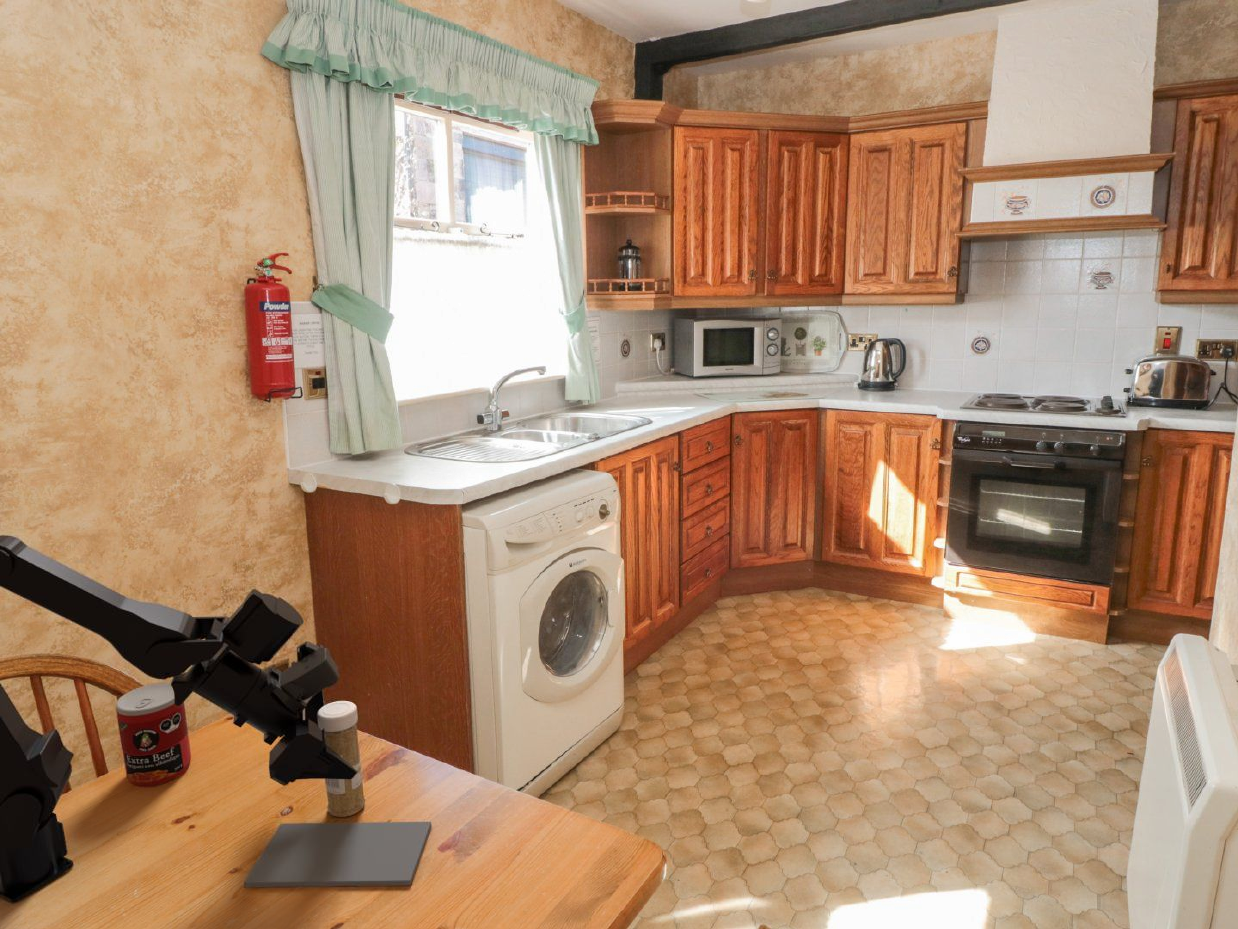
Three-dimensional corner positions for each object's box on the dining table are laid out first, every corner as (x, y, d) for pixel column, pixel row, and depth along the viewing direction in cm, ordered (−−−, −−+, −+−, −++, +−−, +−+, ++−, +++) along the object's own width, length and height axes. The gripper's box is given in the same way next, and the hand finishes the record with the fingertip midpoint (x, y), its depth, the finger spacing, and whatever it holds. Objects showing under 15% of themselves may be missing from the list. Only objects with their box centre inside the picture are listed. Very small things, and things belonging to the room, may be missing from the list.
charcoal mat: (244, 887, 89) (243, 882, 89) (281, 828, 99) (280, 823, 99) (410, 885, 89) (410, 880, 89) (431, 826, 99) (431, 821, 99)
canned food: (119, 793, 107) (106, 715, 104) (136, 760, 114) (125, 686, 112) (184, 782, 108) (173, 706, 106) (197, 751, 116) (187, 678, 114)
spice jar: (372, 807, 103) (363, 708, 100) (337, 824, 100) (327, 722, 97) (354, 792, 106) (345, 695, 103) (320, 807, 103) (310, 708, 100)
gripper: (291, 669, 88) (405, 741, 94) (292, 607, 105) (388, 672, 111) (218, 751, 87) (338, 819, 93) (231, 676, 104) (332, 738, 110)
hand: (352, 755), depth 102 cm, fingers open, 9 cm apart
